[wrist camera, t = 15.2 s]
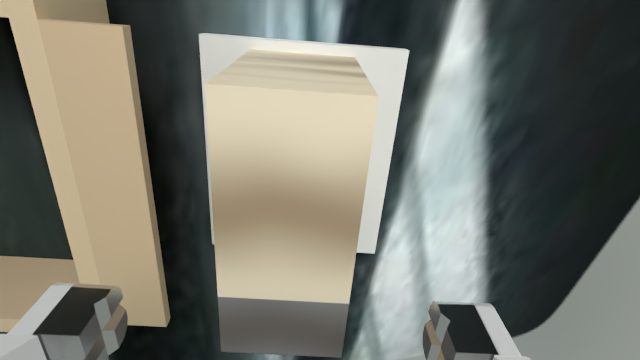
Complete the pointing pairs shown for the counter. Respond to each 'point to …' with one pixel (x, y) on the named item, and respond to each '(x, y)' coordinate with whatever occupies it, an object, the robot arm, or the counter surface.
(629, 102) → the counter surface
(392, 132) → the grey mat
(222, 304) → the block
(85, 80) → the carton
